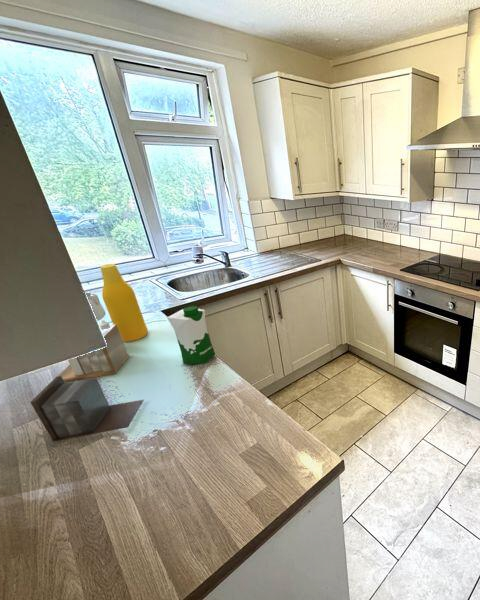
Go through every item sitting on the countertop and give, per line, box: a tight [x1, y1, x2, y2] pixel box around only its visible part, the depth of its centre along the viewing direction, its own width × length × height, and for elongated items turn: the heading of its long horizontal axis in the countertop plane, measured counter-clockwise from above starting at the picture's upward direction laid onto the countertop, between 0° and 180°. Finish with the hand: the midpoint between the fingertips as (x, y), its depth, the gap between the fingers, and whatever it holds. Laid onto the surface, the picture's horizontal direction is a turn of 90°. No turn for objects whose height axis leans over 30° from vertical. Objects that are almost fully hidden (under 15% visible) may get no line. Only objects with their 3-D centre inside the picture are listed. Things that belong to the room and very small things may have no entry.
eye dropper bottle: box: [99, 319, 111, 330], centre depth 117 cm, size 4×6×12 cm
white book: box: [67, 357, 85, 376], centre depth 105 cm, size 2×9×15 cm, turn 18°
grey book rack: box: [30, 375, 145, 443], centre depth 85 cm, size 16×11×13 cm
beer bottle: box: [99, 263, 149, 343], centre depth 122 cm, size 9×9×29 cm
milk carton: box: [166, 305, 216, 366], centre depth 110 cm, size 9×9×20 cm
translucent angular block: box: [58, 324, 131, 383], centre depth 106 cm, size 16×11×13 cm
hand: (71, 335), depth 103 cm, fingers open, 8 cm apart
